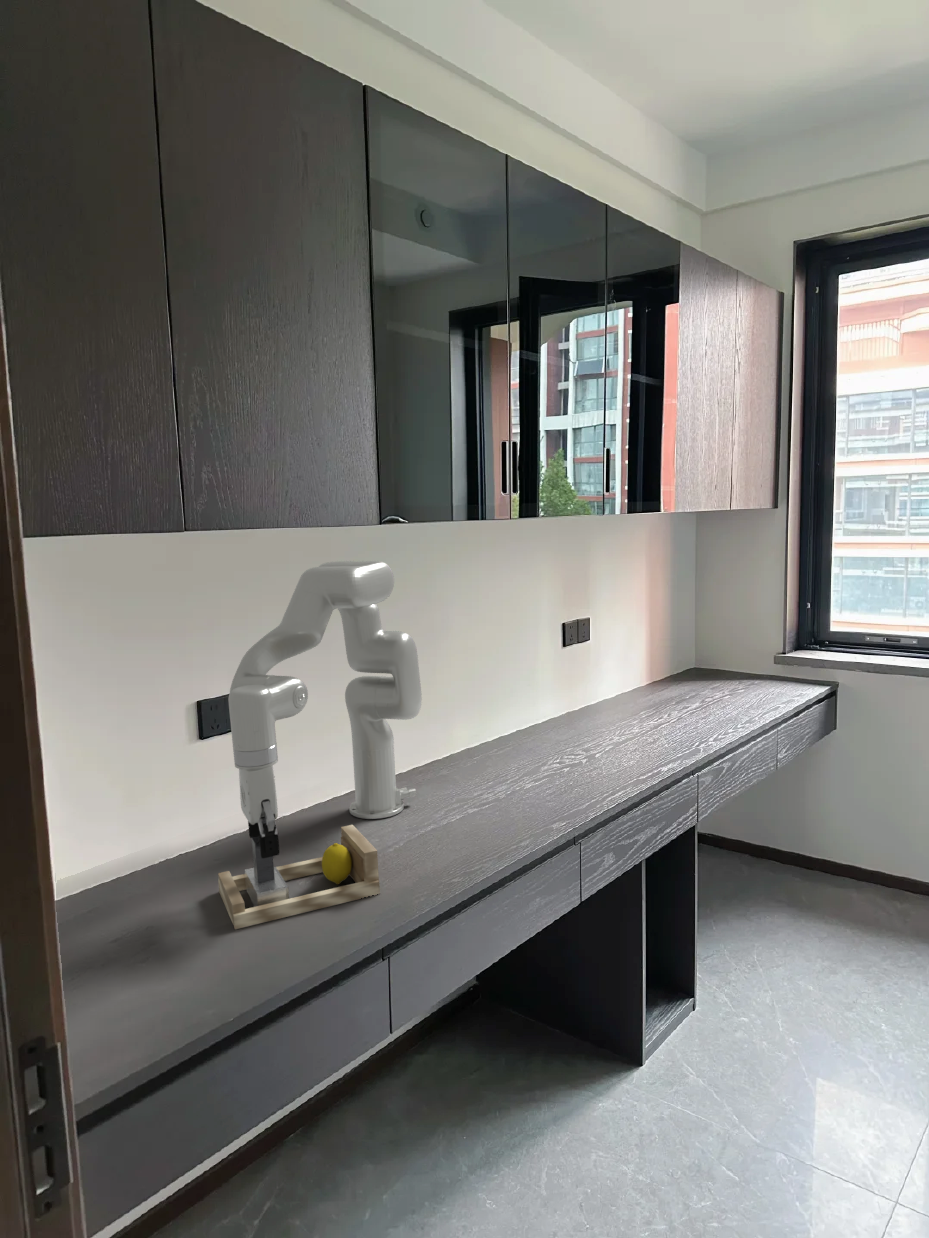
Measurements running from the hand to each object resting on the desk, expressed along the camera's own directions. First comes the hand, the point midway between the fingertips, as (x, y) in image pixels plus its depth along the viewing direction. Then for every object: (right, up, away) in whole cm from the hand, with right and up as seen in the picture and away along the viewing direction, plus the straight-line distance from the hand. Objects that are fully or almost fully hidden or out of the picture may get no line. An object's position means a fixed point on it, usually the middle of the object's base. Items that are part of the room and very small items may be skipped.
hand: (264, 845), depth 152 cm
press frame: (+6, -10, +3) cm, 12 cm away
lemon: (+12, -9, +6) cm, 17 cm away
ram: (0, -10, +1) cm, 10 cm away
